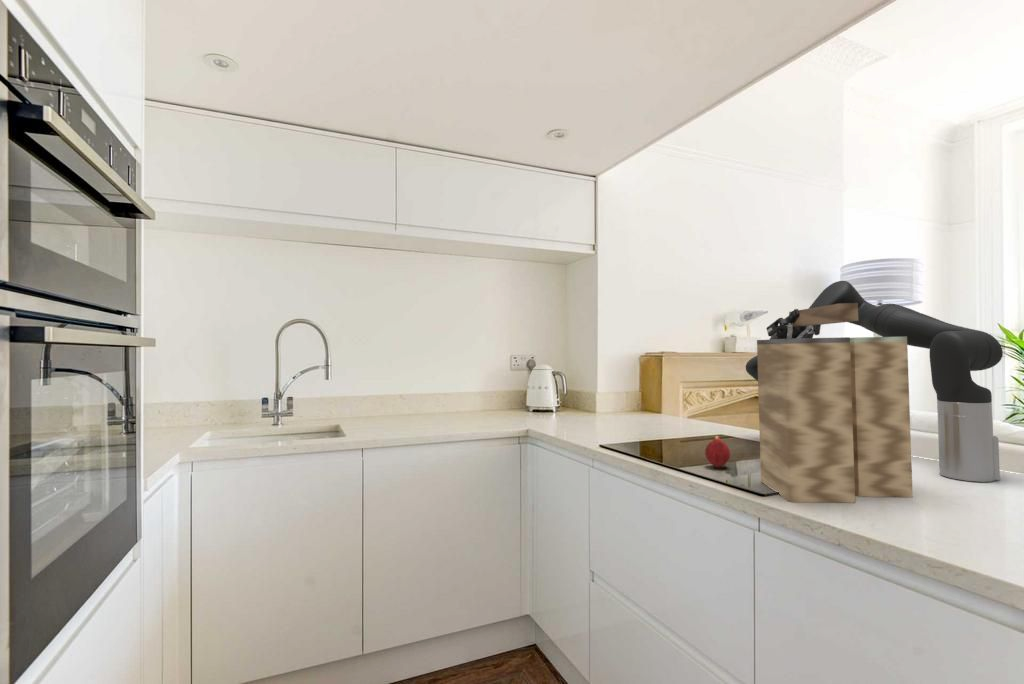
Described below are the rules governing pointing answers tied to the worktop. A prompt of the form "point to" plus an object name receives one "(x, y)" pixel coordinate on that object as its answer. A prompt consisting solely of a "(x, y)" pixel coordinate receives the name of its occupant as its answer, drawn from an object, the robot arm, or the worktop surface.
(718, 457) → the onion
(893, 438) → the tower
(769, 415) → the tower
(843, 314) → the walnut bar
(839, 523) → the worktop surface
